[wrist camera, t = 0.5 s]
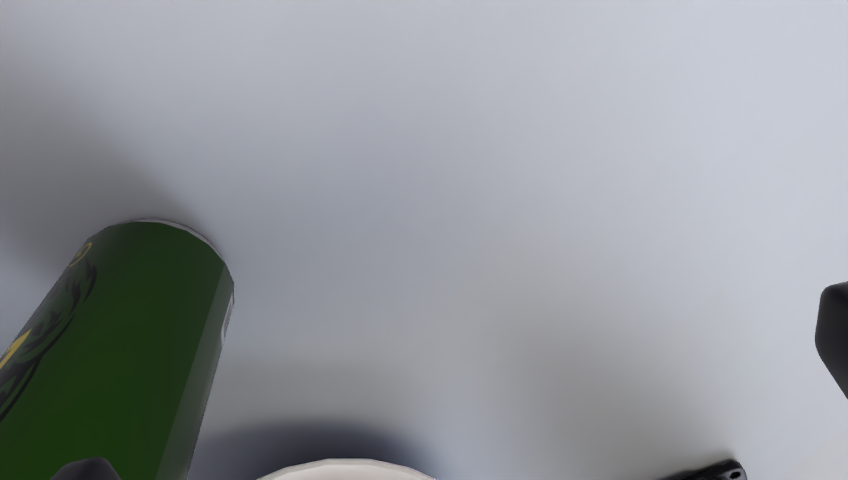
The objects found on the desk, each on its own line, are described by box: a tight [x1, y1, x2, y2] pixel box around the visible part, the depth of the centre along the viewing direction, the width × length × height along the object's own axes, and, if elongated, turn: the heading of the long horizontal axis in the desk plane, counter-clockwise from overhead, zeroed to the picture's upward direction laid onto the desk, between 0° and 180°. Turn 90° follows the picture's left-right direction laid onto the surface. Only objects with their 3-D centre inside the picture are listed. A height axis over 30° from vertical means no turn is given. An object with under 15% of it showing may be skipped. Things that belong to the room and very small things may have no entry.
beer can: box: [0, 219, 234, 480], centre depth 17 cm, size 5×5×12 cm
